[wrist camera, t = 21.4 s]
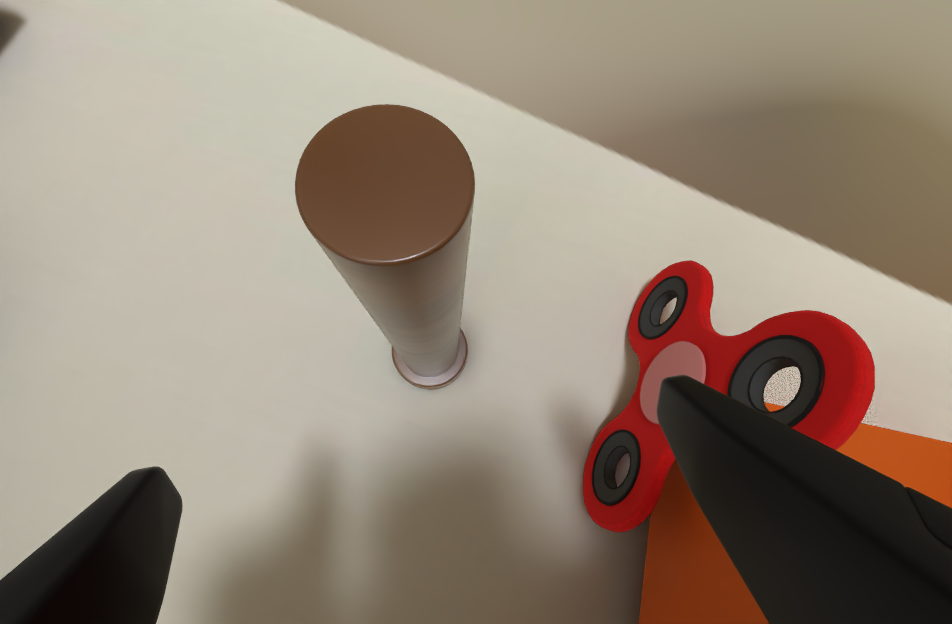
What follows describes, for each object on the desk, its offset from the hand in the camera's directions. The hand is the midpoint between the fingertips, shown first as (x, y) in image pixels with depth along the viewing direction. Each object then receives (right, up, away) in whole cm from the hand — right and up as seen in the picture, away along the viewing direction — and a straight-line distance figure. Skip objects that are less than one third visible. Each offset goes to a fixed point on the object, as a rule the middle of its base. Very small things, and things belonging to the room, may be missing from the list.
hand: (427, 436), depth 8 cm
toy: (+9, 0, +6) cm, 11 cm away
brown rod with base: (-1, +1, +11) cm, 11 cm away
